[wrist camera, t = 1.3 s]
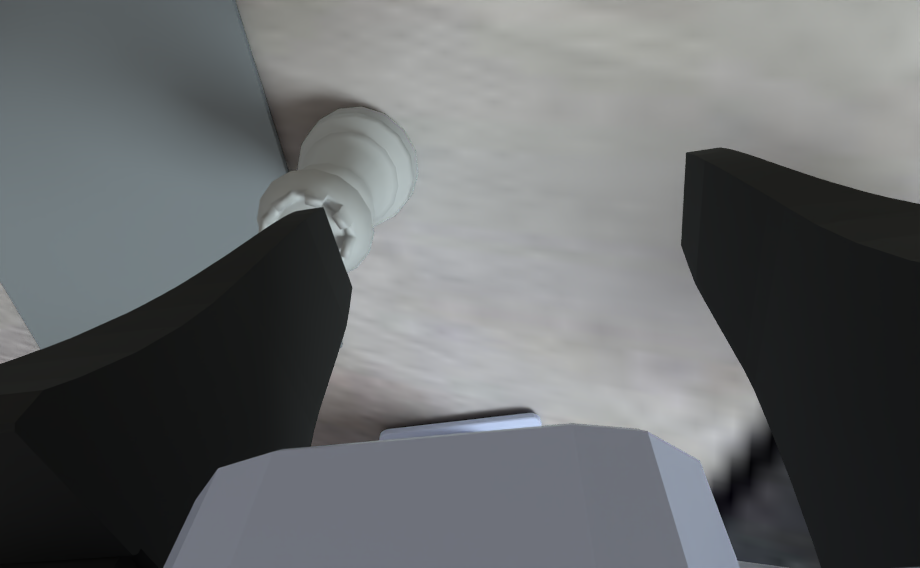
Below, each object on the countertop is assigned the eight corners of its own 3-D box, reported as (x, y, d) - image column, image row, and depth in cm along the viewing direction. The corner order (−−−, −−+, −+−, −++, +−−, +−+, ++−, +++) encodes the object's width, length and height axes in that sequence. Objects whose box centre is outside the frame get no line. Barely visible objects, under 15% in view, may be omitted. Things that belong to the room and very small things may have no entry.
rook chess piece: (439, 140, 21) (419, 207, 14) (390, 235, 23) (350, 337, 16) (331, 81, 20) (252, 121, 13) (289, 185, 22) (200, 269, 15)
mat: (342, 344, 26) (341, 347, 25) (66, 380, 27) (61, 384, 27) (217, -56, 19) (213, -57, 18) (-146, 22, 20) (-155, 23, 20)
